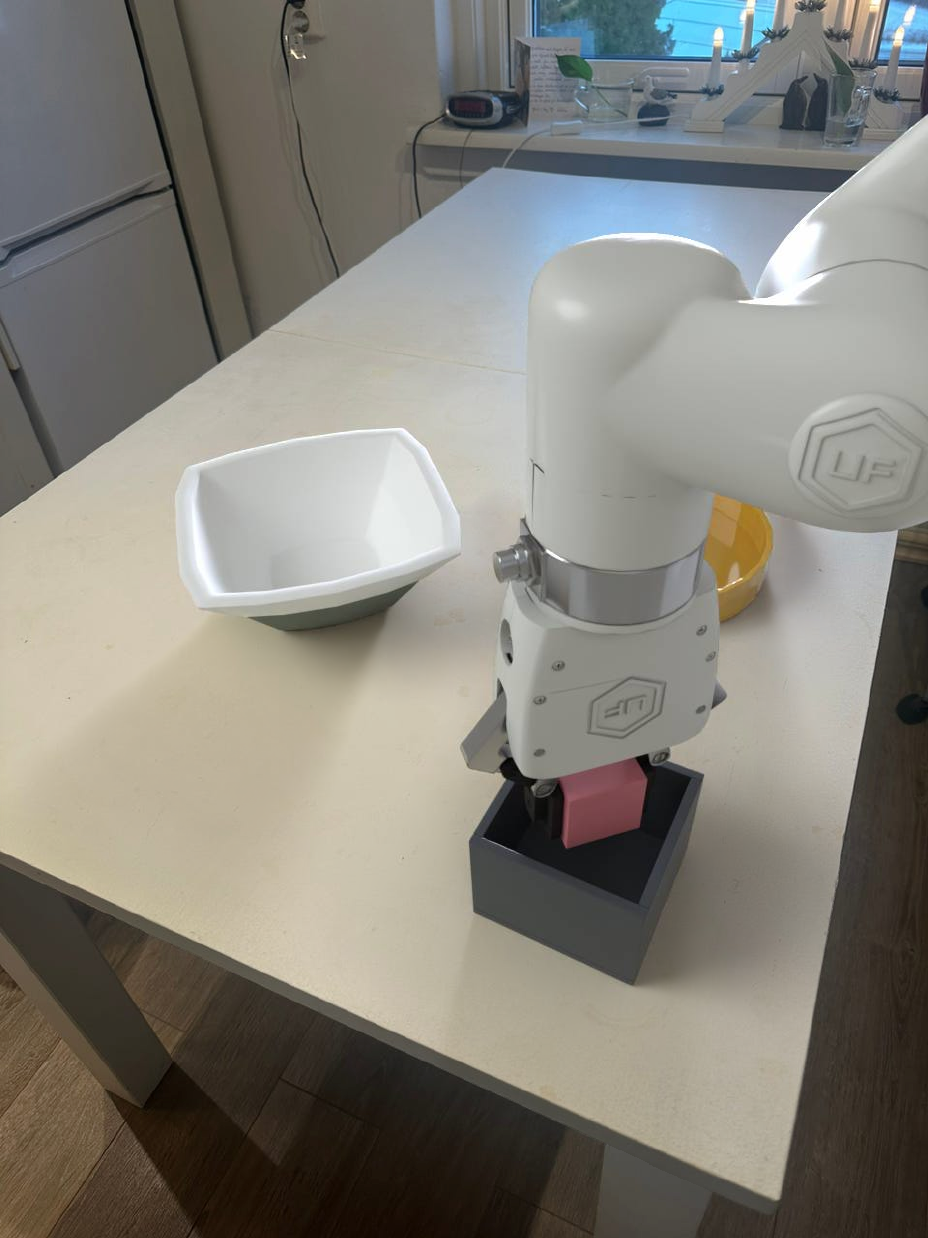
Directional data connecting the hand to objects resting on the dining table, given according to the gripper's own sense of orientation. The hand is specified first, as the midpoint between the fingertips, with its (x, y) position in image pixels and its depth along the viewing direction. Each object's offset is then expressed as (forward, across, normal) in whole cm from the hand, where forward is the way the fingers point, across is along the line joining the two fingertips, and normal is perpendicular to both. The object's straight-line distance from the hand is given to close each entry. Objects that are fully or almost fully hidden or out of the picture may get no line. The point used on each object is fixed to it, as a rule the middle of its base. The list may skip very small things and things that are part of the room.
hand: (588, 804), depth 49 cm
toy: (0, 0, 0) cm, 0 cm away
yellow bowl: (+8, +18, +28) cm, 34 cm away
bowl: (+8, -10, +34) cm, 36 cm away
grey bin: (+8, 0, 0) cm, 8 cm away
